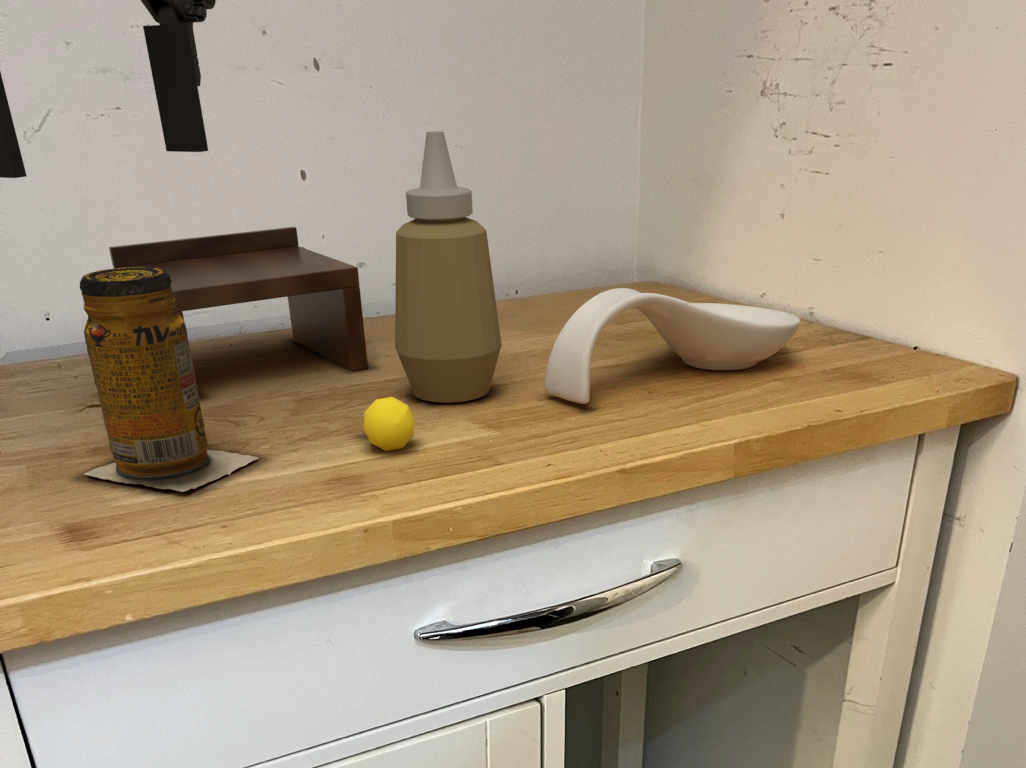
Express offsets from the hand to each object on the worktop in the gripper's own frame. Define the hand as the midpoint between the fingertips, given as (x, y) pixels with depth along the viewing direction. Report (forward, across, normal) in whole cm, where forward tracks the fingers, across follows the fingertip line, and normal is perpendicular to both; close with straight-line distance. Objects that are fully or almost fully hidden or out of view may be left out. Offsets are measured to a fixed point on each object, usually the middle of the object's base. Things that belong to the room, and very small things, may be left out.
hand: (102, 163), depth 62 cm
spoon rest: (+18, +34, -22) cm, 45 cm away
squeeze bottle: (+18, +22, -8) cm, 30 cm away
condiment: (+18, 0, 0) cm, 18 cm away
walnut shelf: (+18, +22, +12) cm, 31 cm away
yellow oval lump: (+18, +10, -10) cm, 23 cm away
